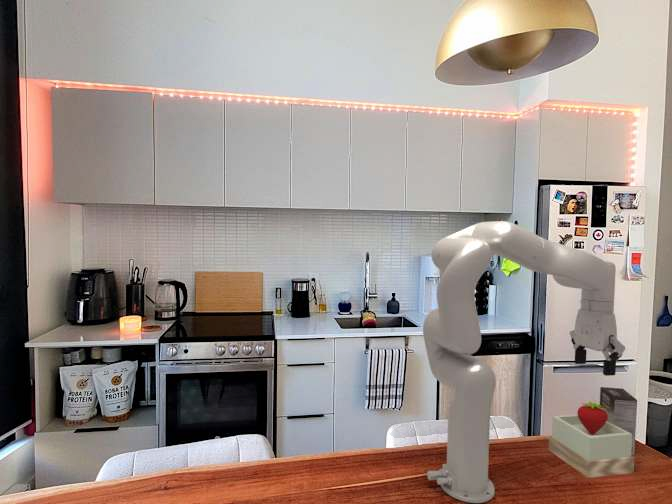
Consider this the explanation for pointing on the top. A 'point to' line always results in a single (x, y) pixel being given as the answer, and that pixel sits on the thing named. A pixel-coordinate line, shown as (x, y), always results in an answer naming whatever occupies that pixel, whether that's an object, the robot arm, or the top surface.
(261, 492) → the top surface
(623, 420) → the coffee box
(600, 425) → the strawberry
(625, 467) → the maple base block
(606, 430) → the sage top block
